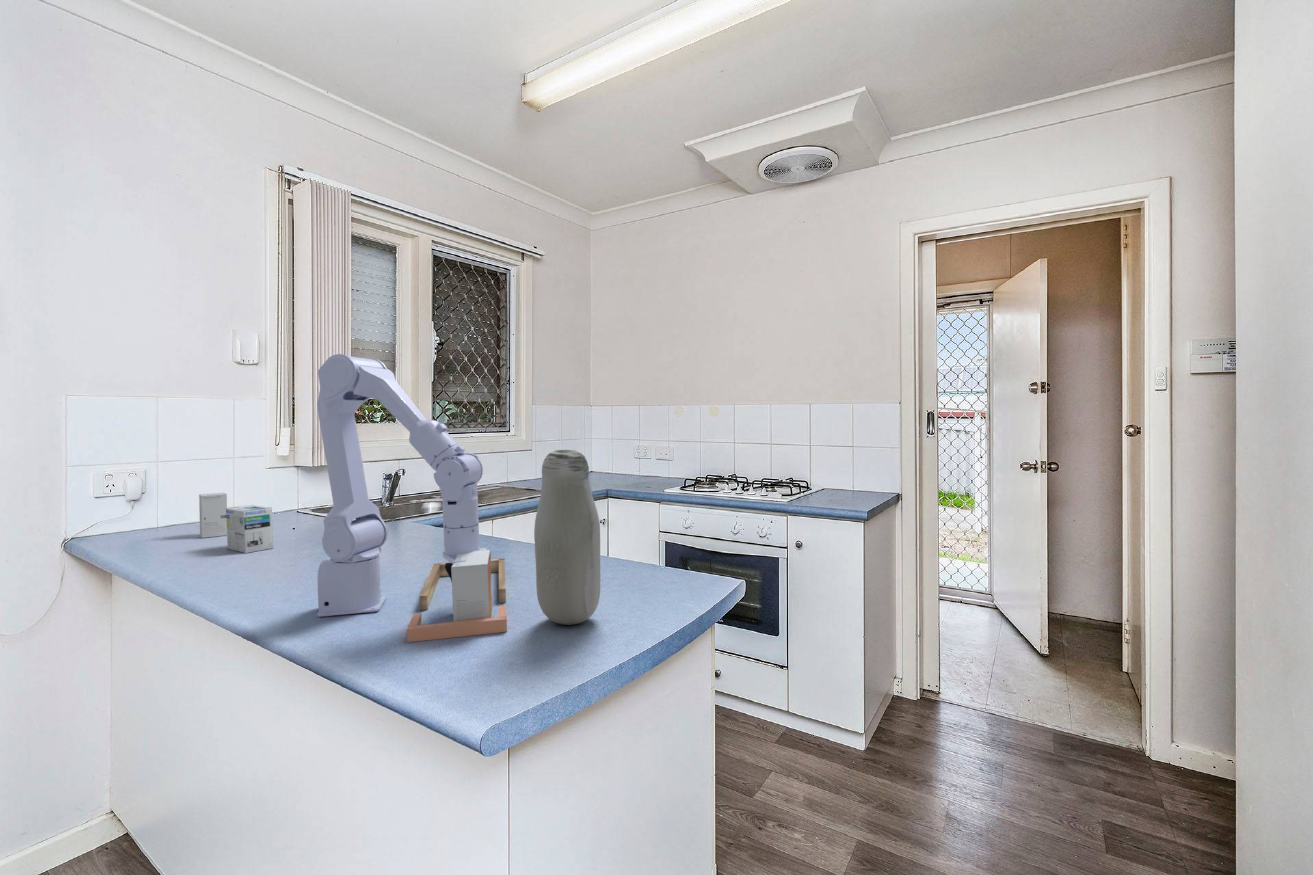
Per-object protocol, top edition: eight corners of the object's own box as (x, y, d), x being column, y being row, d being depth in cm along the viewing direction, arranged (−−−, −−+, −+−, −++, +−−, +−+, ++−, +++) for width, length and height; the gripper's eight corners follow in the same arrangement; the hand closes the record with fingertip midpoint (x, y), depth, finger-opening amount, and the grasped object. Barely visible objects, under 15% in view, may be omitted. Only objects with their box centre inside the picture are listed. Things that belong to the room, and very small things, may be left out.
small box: (490, 628, 91) (488, 564, 90) (453, 632, 90) (450, 566, 89) (493, 608, 99) (491, 548, 98) (458, 611, 98) (456, 551, 97)
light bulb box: (274, 548, 149) (273, 506, 148) (245, 554, 143) (243, 510, 143) (255, 543, 155) (253, 503, 154) (226, 548, 149) (224, 507, 149)
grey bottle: (610, 615, 96) (608, 448, 95) (578, 637, 87) (575, 452, 86) (560, 607, 101) (557, 447, 99) (524, 627, 91) (520, 451, 90)
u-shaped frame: (420, 610, 100) (419, 596, 100) (434, 575, 122) (434, 563, 122) (505, 602, 104) (505, 588, 104) (504, 569, 126) (504, 558, 125)
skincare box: (201, 538, 162) (199, 495, 161) (199, 536, 165) (197, 494, 165) (228, 535, 166) (227, 493, 166) (226, 533, 169) (224, 491, 169)
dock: (407, 642, 86) (406, 629, 86) (413, 626, 92) (413, 614, 92) (506, 631, 90) (506, 618, 90) (506, 617, 96) (506, 605, 96)
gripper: (484, 531, 92) (487, 615, 93) (486, 516, 106) (488, 589, 107) (437, 535, 90) (441, 620, 91) (445, 519, 104) (448, 593, 105)
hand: (464, 603), depth 99 cm, fingers closed, pressing on small box
